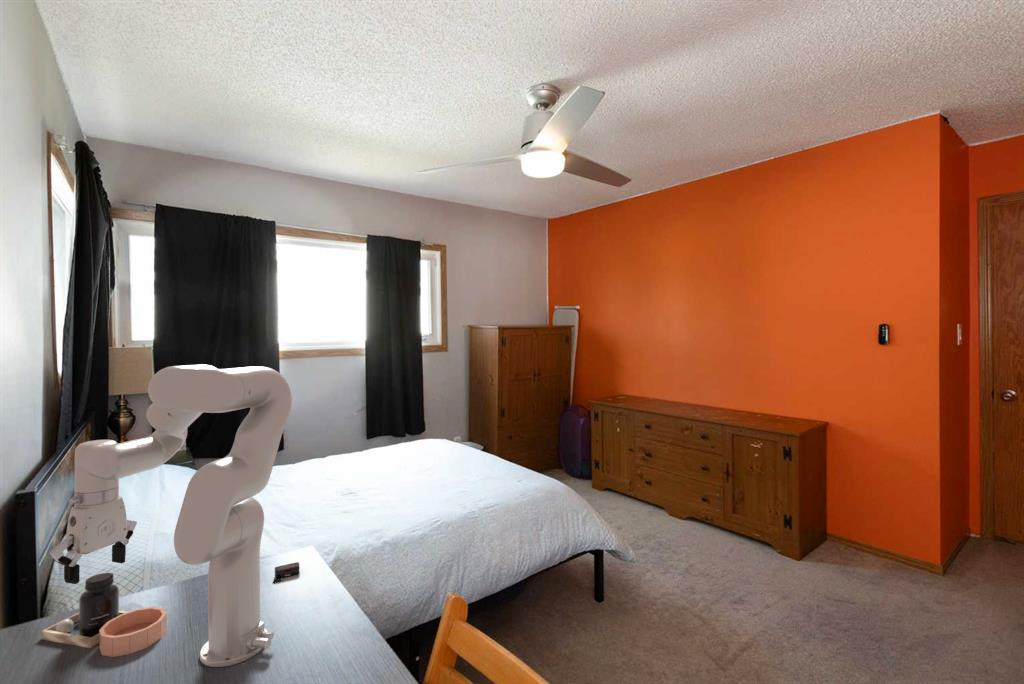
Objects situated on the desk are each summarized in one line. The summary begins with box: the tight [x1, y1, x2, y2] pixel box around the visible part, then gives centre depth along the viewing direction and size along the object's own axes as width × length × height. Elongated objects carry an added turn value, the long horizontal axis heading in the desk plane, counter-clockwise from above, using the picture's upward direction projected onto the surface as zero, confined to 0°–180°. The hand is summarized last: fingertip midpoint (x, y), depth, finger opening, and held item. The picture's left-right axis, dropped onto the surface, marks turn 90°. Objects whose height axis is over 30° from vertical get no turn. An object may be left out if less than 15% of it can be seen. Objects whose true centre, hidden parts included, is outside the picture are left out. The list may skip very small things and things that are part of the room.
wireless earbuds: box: [272, 562, 300, 584], centre depth 131 cm, size 4×7×3 cm, turn 120°
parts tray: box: [40, 610, 128, 649], centre depth 108 cm, size 14×10×2 cm
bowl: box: [98, 606, 167, 658], centre depth 105 cm, size 11×11×4 cm
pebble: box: [55, 618, 75, 634], centre depth 107 cm, size 3×3×3 cm
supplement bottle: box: [78, 572, 120, 637], centre depth 108 cm, size 7×7×12 cm
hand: (96, 572), depth 108 cm, fingers open, 9 cm apart
